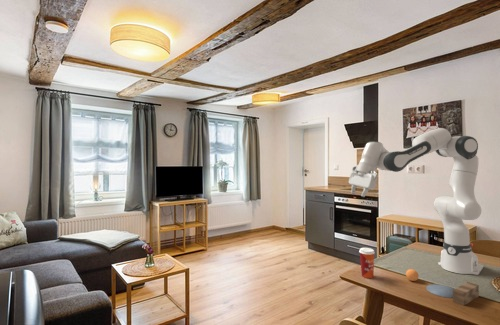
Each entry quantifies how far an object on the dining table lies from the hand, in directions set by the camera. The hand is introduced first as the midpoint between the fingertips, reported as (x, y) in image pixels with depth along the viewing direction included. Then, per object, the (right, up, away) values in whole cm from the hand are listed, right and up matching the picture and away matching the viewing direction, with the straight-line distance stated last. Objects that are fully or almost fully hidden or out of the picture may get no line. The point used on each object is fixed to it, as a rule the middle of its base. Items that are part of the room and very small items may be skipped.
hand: (357, 195), depth 150 cm
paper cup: (+5, -43, -2) cm, 43 cm away
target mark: (+31, -42, -21) cm, 56 cm away
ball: (+24, -39, -9) cm, 47 cm away
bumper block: (+36, -42, -28) cm, 62 cm away
